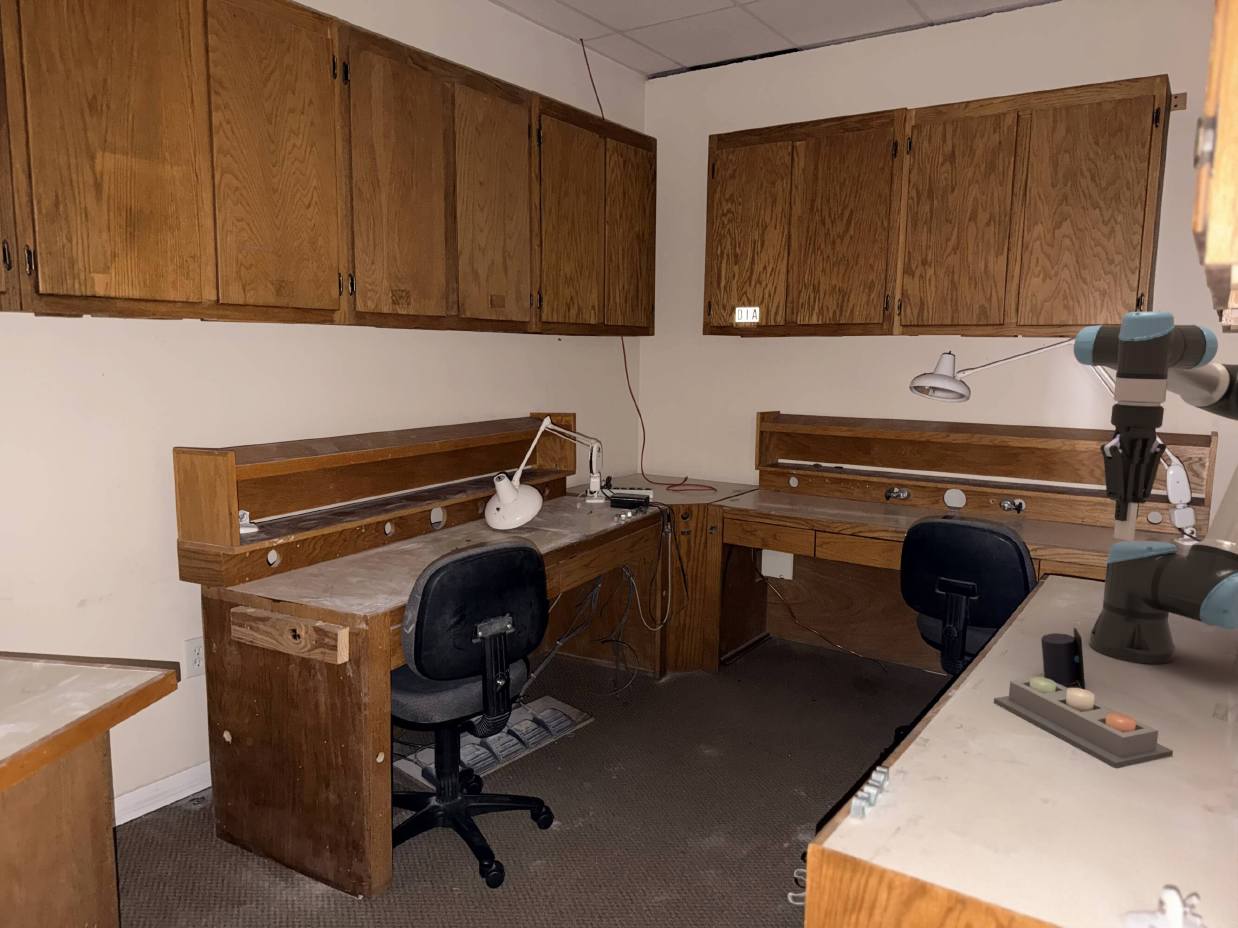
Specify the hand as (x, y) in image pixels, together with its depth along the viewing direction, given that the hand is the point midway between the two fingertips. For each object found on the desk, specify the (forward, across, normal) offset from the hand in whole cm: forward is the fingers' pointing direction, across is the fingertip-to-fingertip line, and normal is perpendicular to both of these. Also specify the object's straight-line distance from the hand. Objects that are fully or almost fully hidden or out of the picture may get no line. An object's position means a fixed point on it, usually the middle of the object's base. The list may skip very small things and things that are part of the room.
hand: (1123, 538), depth 146 cm
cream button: (+27, +15, +7) cm, 32 cm away
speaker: (+30, +2, -8) cm, 31 cm away
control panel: (+29, +15, +7) cm, 34 cm away
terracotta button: (+28, +15, +15) cm, 35 cm away
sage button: (+28, +15, -1) cm, 32 cm away
